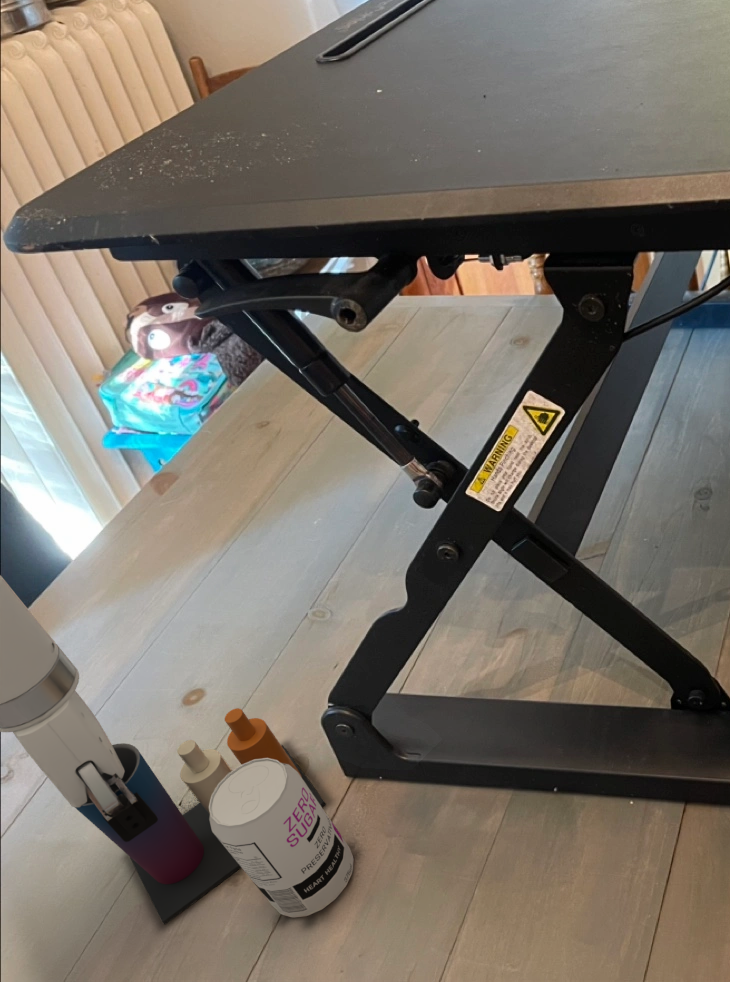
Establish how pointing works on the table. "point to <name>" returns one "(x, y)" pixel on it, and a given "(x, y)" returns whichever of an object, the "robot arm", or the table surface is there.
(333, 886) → the supplement can
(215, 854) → the mat
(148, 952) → the table surface
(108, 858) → the table surface
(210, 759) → the cream bottle
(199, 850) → the cup
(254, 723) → the amber bottle
